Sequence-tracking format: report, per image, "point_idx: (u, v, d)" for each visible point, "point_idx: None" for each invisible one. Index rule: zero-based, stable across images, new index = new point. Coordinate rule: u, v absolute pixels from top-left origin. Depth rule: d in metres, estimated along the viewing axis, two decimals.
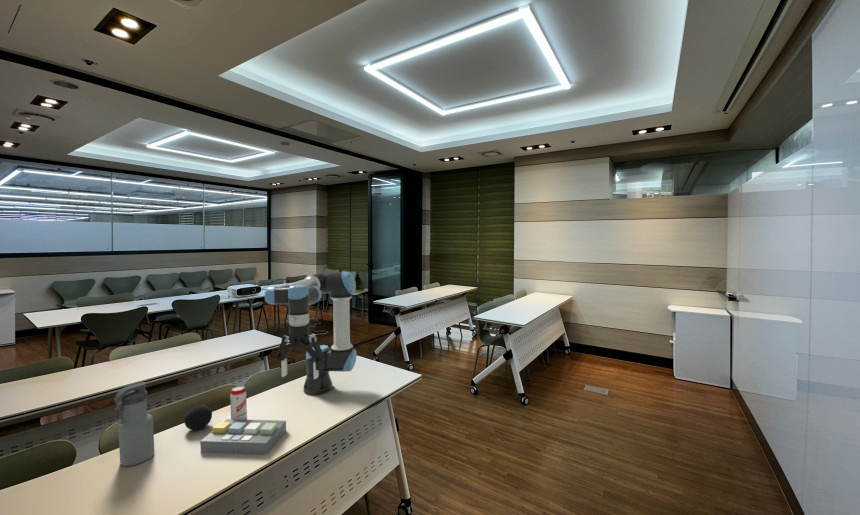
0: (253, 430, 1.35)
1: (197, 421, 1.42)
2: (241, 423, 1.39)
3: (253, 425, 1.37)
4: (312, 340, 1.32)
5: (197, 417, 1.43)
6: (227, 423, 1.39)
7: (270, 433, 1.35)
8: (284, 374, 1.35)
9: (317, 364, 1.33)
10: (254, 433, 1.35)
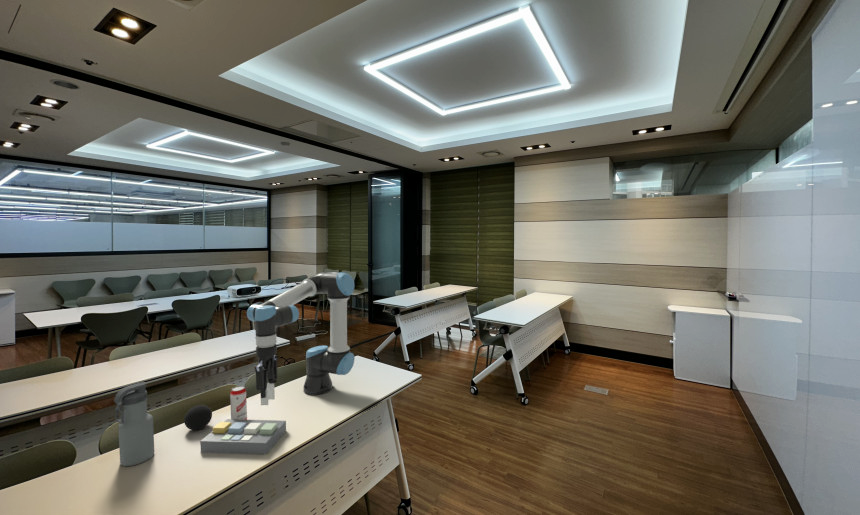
0: (253, 430, 1.35)
1: (197, 421, 1.42)
2: (241, 423, 1.39)
3: (253, 425, 1.37)
4: None
5: (197, 417, 1.43)
6: (227, 423, 1.39)
7: (270, 433, 1.35)
8: (269, 397, 1.38)
9: None
10: (254, 433, 1.35)
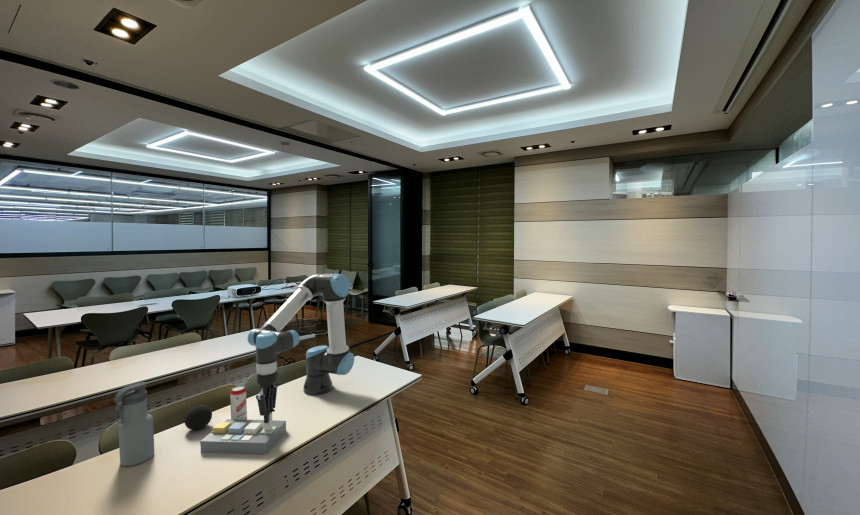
0: (253, 430, 1.35)
1: (197, 421, 1.42)
2: (241, 423, 1.39)
3: (253, 425, 1.37)
4: None
5: (197, 417, 1.43)
6: (227, 423, 1.39)
7: None
8: None
9: None
10: (254, 433, 1.35)
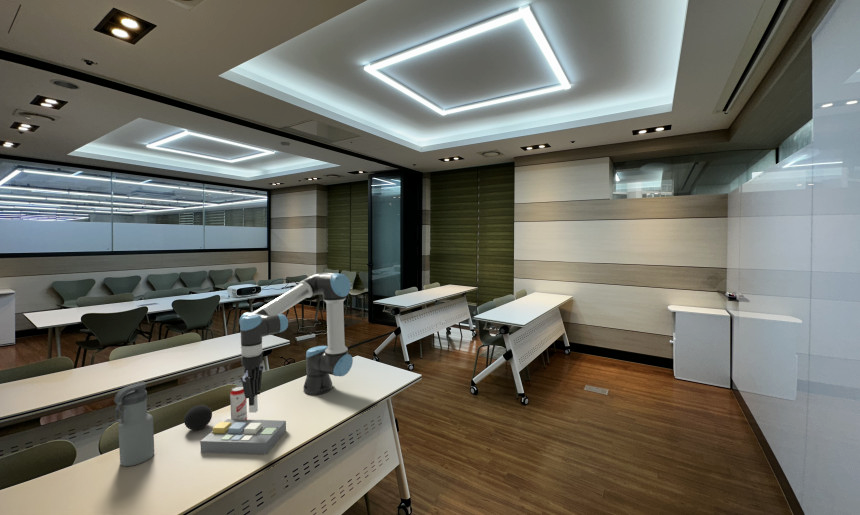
0: (253, 430, 1.35)
1: (197, 421, 1.42)
2: (241, 423, 1.39)
3: (253, 425, 1.37)
4: None
5: (197, 417, 1.43)
6: (227, 423, 1.39)
7: None
8: None
9: None
10: (254, 433, 1.35)
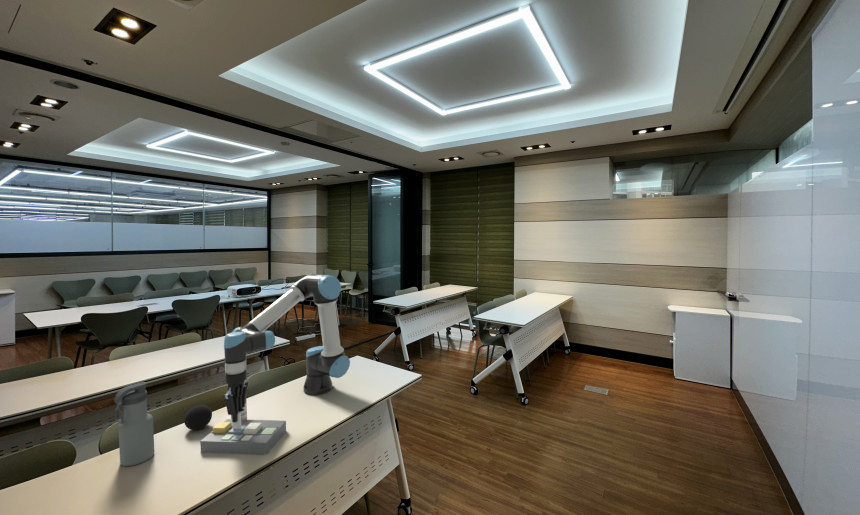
0: (253, 430, 1.35)
1: (197, 421, 1.42)
2: (241, 426, 1.39)
3: (253, 425, 1.37)
4: None
5: (197, 417, 1.43)
6: (227, 423, 1.39)
7: None
8: None
9: None
10: (254, 433, 1.35)
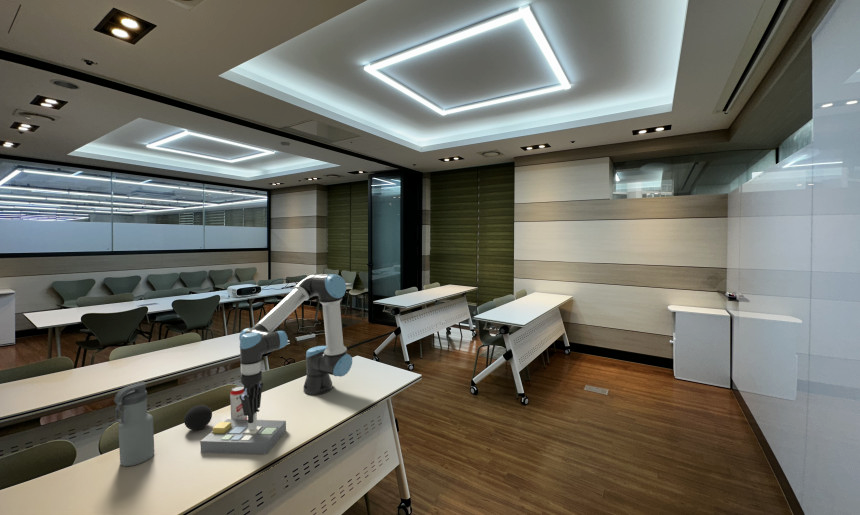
0: (253, 434, 1.35)
1: (197, 421, 1.42)
2: (241, 427, 1.39)
3: None
4: None
5: (197, 417, 1.43)
6: (227, 423, 1.39)
7: None
8: None
9: None
10: None
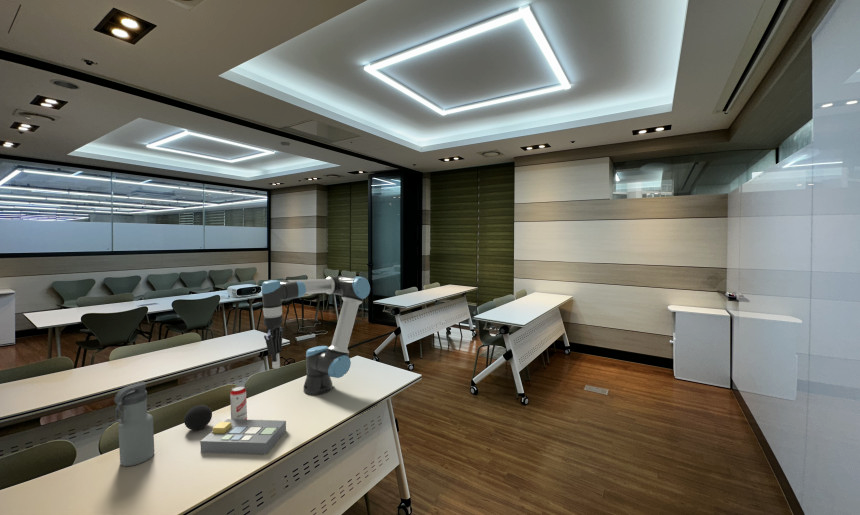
0: None
1: (197, 421, 1.42)
2: (241, 427, 1.39)
3: (253, 430, 1.37)
4: None
5: (197, 417, 1.43)
6: (227, 423, 1.39)
7: None
8: None
9: None
10: None
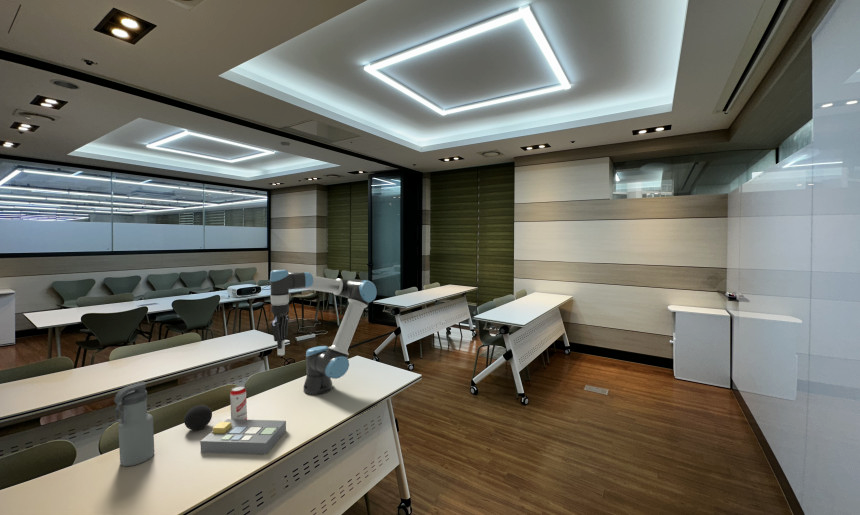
0: None
1: (197, 421, 1.42)
2: (241, 427, 1.39)
3: (253, 430, 1.37)
4: None
5: (197, 417, 1.43)
6: (227, 423, 1.39)
7: None
8: None
9: None
10: None
